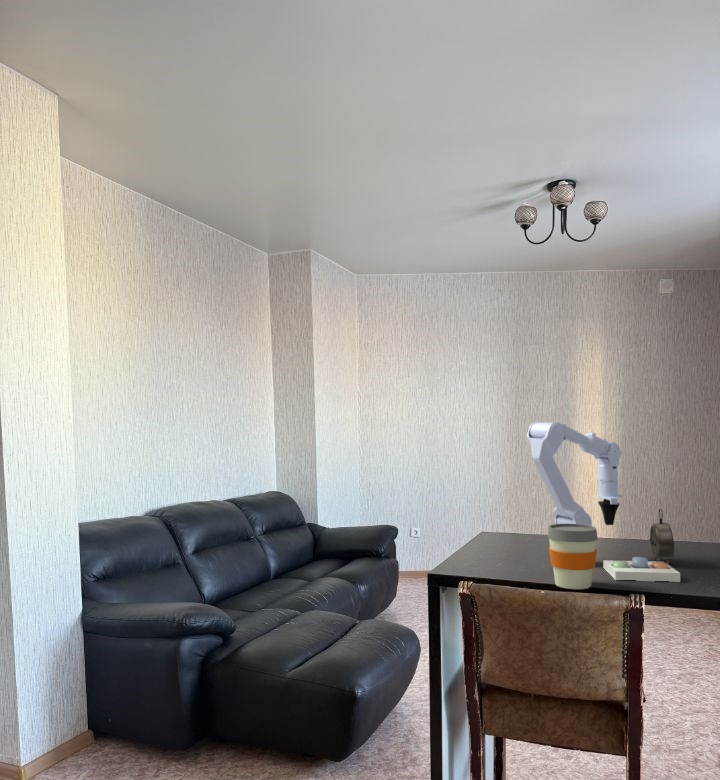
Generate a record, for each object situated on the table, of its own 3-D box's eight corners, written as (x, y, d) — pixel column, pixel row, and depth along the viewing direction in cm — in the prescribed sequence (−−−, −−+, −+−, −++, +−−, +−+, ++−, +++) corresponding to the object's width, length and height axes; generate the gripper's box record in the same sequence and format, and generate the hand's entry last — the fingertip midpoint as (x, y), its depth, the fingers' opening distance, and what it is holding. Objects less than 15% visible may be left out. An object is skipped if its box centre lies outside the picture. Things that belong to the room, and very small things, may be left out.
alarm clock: (675, 567, 198) (674, 511, 198) (655, 567, 199) (654, 511, 200) (666, 559, 209) (665, 506, 209) (647, 559, 210) (647, 506, 210)
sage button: (615, 574, 188) (614, 563, 188) (611, 571, 192) (611, 560, 192) (630, 575, 188) (630, 564, 188) (626, 571, 192) (626, 561, 192)
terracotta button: (654, 575, 187) (654, 564, 187) (650, 572, 191) (649, 561, 191) (669, 576, 186) (669, 565, 186) (665, 572, 190) (664, 561, 190)
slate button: (634, 570, 187) (634, 559, 188) (630, 567, 191) (630, 556, 192) (649, 571, 187) (649, 560, 187) (645, 567, 191) (645, 557, 191)
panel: (615, 580, 183) (615, 571, 183) (603, 568, 197) (603, 560, 197) (680, 582, 181) (680, 573, 181) (663, 570, 195) (663, 561, 195)
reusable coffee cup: (541, 579, 185) (540, 523, 185) (586, 578, 185) (586, 523, 186) (558, 591, 172) (557, 531, 173) (606, 590, 173) (605, 531, 173)
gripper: (627, 483, 204) (629, 528, 203) (615, 478, 218) (616, 520, 218) (603, 483, 204) (604, 528, 204) (592, 478, 219) (593, 520, 219)
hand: (609, 524), depth 211 cm, fingers closed
